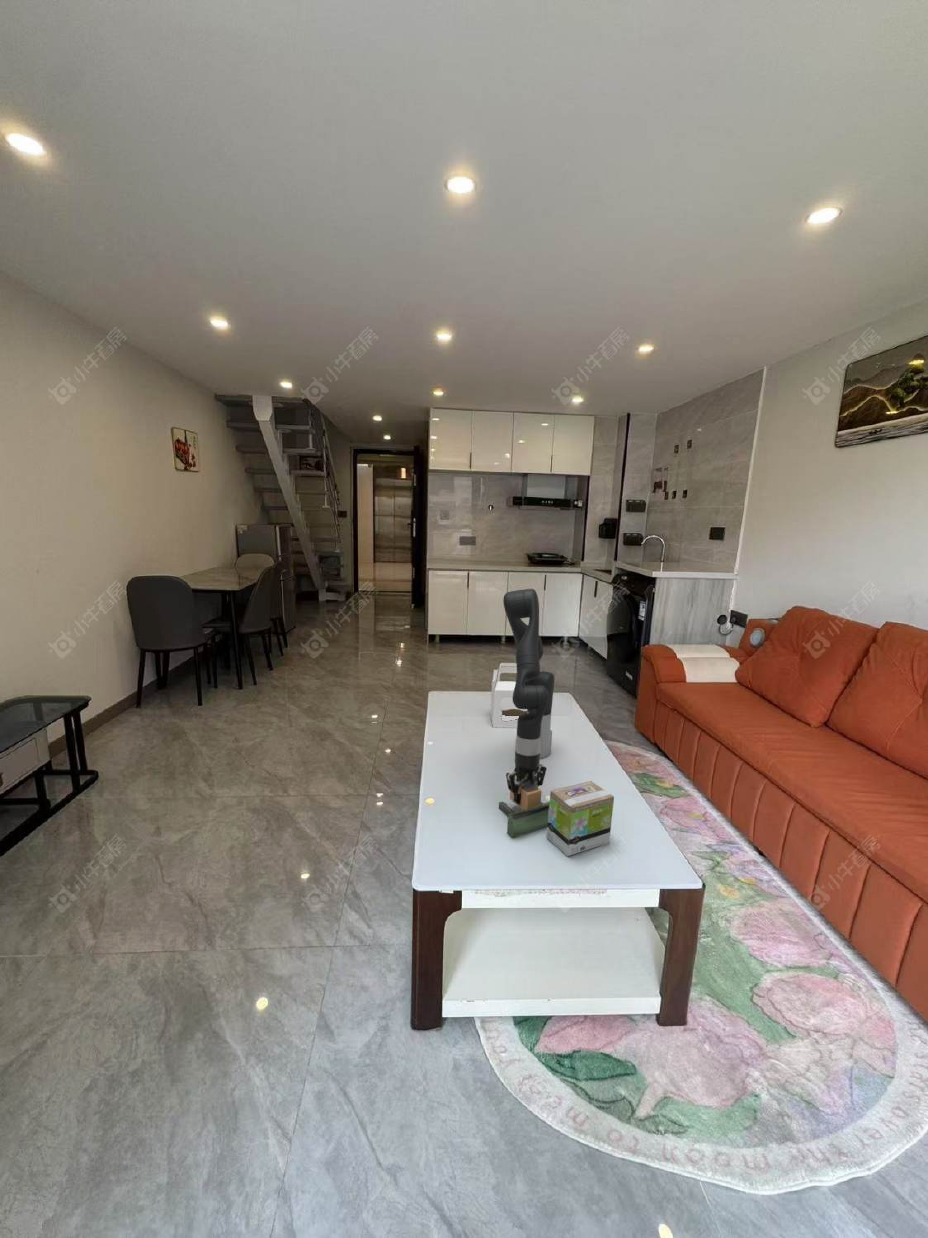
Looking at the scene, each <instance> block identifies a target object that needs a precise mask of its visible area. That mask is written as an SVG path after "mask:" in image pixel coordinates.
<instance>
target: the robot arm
mask: <svg viewBox="0 0 928 1238" xmlns="http://www.w3.org/2000/svg"><path fill="white" fill-rule="evenodd" d="M502 601H503V608H504V611H505V615H506V618H507V620H508V622H509V625H510V628H511V631H512V634H513V635H512V637H513V640H514V644H515V649H516V652H515V663H516V666H517V673H516V678H515V679H516V680H515V681H516V684H515V688H514V692H513V698H512V704H513V705H514V707H516V709H519V710H526V711H527V714H524V715H521V716H519V718H518V721H517V728H516V737H515V748H514V750H515V751H514V763H515V768H514V769H513V771H512V772H506V774H505V777H506V784H507V787H508V790H509V792H510V791H511V792H512V793H514V801H515V803H517V804H518V805H519V804H521V789H522V787H524V785H525V782H527V781H529V782H531V783H532V784H533V785H535V786H536V787H537V788H538V789H539V787H540V786H541V787H542V786H543V784H544V781H545V777H546V774H547V773H546V772H547V767H546V766H544V765H542V764H540V760H541V759H545V758H547V757H549V755H551V754H552V742H553V741H552V740H553V730H551V724H552V723H551V721H552V708H553V707H552V706H553V701H554V689H555V675H554V673H552V672H549V671H544V670H542V671H540V670H541V666H540V661H541V660H542V657H543V655H544V647H543V641H542V638H541V636H540V634H539V632H540V602H539V596H538V594H537V591H536V589H534V588H526V589H517V590H511V591H507V592H506V593H505V594H504V595H503V600H502ZM525 618H526V619H529V620H528V624H526V622H524V621H523V619H525ZM514 780H515V781H514ZM519 780H520V781H521V782H520V781H519ZM518 785H519V787H518ZM517 804H516V805H517ZM518 805H517V806H518Z"/></svg>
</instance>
